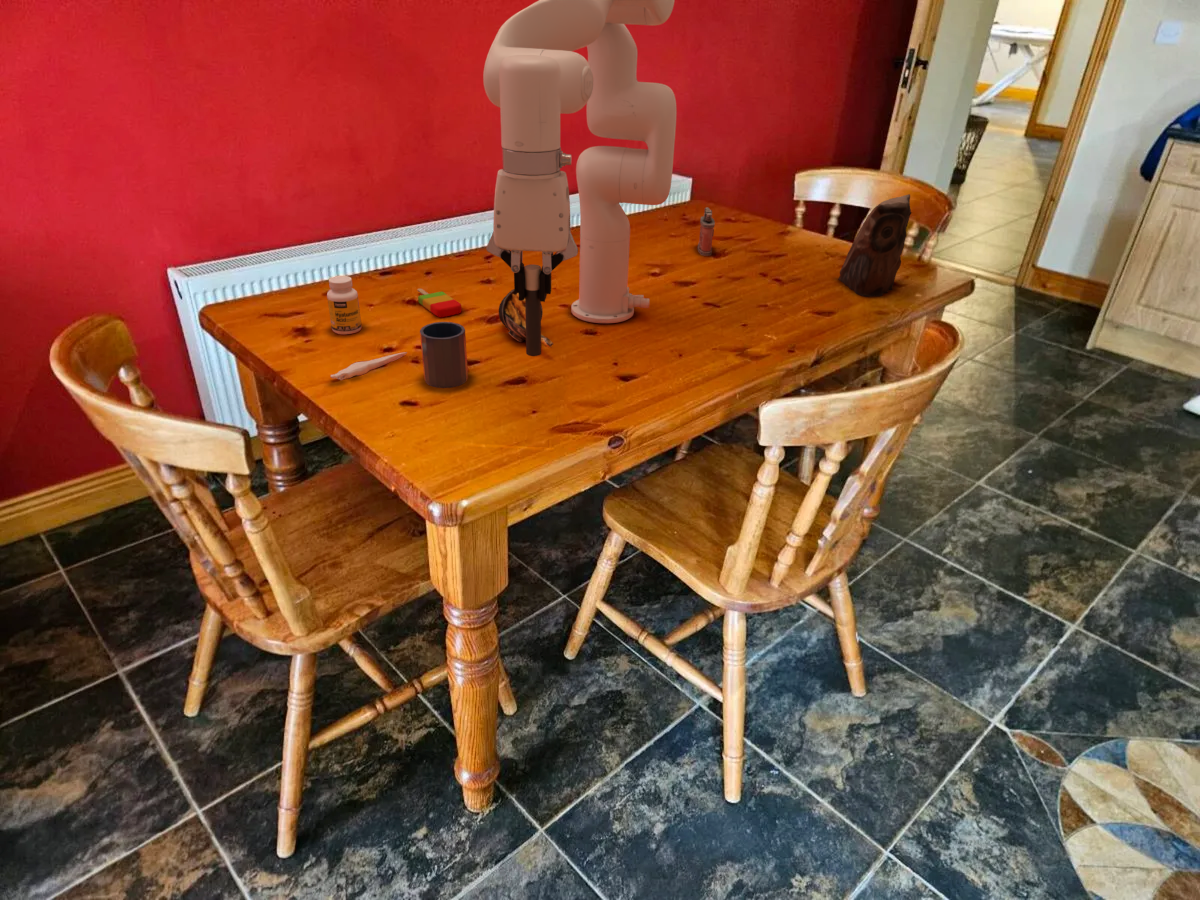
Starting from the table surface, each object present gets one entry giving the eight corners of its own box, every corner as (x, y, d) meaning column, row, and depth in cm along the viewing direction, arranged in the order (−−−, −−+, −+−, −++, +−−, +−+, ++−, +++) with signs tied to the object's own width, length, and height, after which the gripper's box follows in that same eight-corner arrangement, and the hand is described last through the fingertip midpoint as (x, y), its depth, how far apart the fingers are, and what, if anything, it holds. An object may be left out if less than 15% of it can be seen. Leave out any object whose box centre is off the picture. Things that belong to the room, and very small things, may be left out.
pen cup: (471, 372, 134) (468, 322, 129) (463, 391, 128) (459, 339, 123) (430, 370, 134) (426, 320, 129) (420, 389, 128) (415, 337, 123)
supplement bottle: (335, 337, 145) (327, 285, 139) (329, 326, 149) (321, 276, 144) (365, 332, 147) (358, 281, 142) (358, 322, 151) (351, 272, 146)
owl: (892, 280, 181) (913, 191, 171) (907, 300, 170) (930, 206, 160) (837, 278, 182) (854, 188, 171) (848, 297, 171) (867, 203, 160)
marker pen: (542, 350, 117) (541, 264, 110) (540, 357, 115) (539, 270, 108) (527, 349, 117) (525, 264, 110) (524, 356, 115) (523, 269, 108)
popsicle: (438, 318, 153) (438, 309, 153) (406, 295, 164) (406, 287, 163) (464, 313, 156) (463, 304, 155) (431, 291, 167) (430, 282, 166)
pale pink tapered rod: (336, 387, 128) (334, 376, 127) (327, 381, 129) (325, 371, 128) (412, 359, 137) (411, 349, 136) (402, 354, 139) (401, 345, 138)
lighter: (713, 255, 193) (717, 214, 188) (699, 255, 193) (703, 214, 188) (709, 246, 200) (713, 206, 195) (696, 245, 200) (700, 205, 195)
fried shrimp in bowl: (529, 294, 153) (585, 290, 139) (521, 350, 154) (576, 352, 140) (488, 283, 148) (542, 279, 134) (480, 342, 148) (533, 344, 134)
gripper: (594, 159, 105) (591, 291, 115) (475, 153, 106) (481, 286, 115) (591, 170, 99) (587, 310, 108) (463, 165, 99) (471, 304, 109)
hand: (533, 296), depth 112 cm, fingers closed on marker pen, 2 cm apart
